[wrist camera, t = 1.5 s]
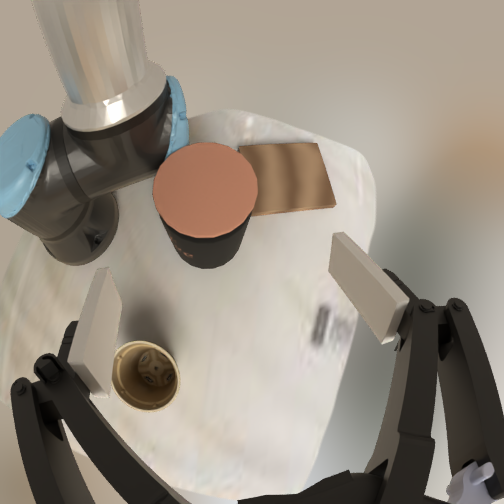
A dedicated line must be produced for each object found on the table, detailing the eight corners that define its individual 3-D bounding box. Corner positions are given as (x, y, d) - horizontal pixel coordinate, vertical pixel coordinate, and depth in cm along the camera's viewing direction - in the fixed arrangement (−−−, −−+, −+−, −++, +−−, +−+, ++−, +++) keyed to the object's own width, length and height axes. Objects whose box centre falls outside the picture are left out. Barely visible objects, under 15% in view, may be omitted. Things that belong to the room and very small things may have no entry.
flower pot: (124, 387, 37) (105, 401, 29) (132, 331, 40) (113, 332, 31) (182, 402, 38) (175, 419, 30) (190, 344, 40) (185, 349, 32)
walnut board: (251, 216, 46) (252, 213, 45) (238, 151, 49) (239, 146, 48) (333, 207, 49) (336, 204, 48) (314, 147, 52) (317, 142, 50)
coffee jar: (170, 211, 45) (149, 150, 27) (234, 201, 47) (247, 136, 29) (179, 275, 43) (157, 245, 25) (247, 263, 44) (269, 226, 27)
